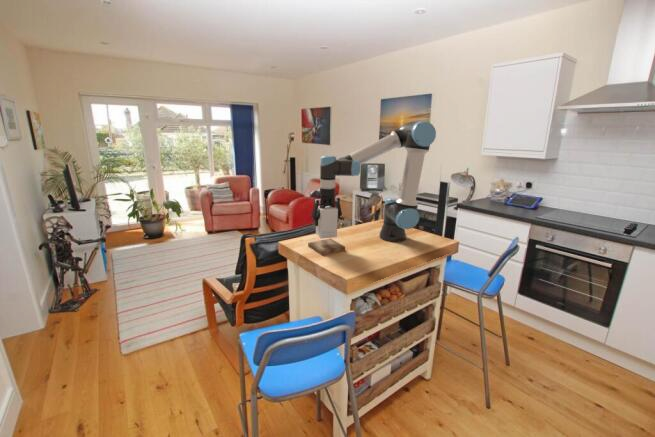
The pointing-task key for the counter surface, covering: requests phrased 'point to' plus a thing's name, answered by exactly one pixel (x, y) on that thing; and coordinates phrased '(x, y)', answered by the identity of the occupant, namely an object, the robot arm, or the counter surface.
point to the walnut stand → (326, 246)
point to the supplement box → (328, 222)
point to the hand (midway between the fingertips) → (326, 230)
